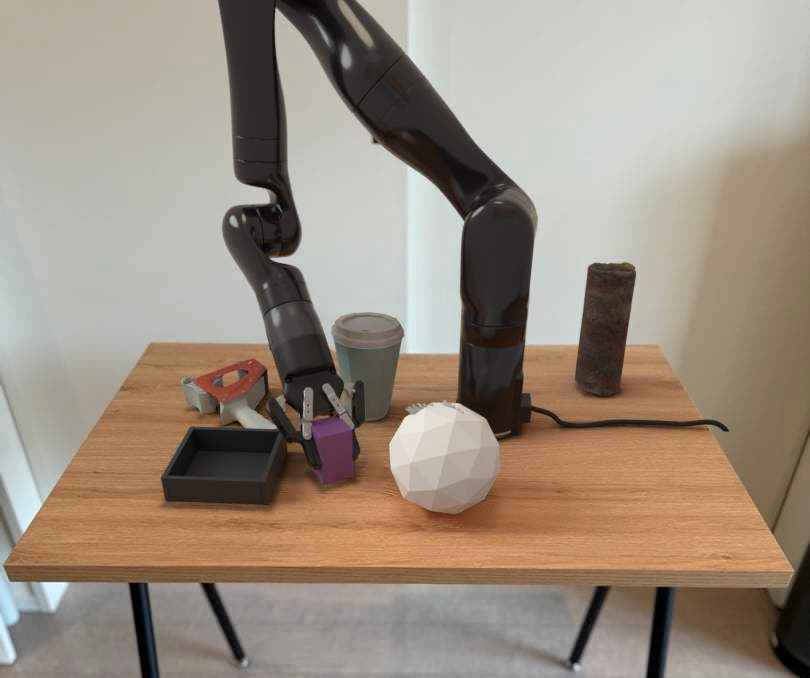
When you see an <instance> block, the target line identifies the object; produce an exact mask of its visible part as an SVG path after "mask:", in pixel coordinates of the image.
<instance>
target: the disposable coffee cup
mask: <svg viewBox="0 0 810 678" xmlns="http://www.w3.org/2000/svg"><path fill="white" fill-rule="evenodd" d="M330 331H331V332H330V334H331V337H332V340H333V343H334V350H335V356H336V360H337V366H338V372H339V373H338V374H339V377H340V378H341V379H342V380H343V382H351V383H356V381H358V380H361V381H362V382H363V383H364V398H365V421H364V422H373V421H374V422H375V421H379V420H381V419H383V418H385V417H386V415H387V414H388V412H389V410H390V408H391V403H392V397H393V392H394V386H395V379H396V376H397V375H396V374H397V369H398V363H399V358H400V352H401V348H402V347H401V346H402V341H403V339H404V337H405V330H404V328H403V326H402V324H401V322H400V321H399V320H398V318H397V317H394V316H391V315H389V314H386V313H381V312H374V311H373V312H372V311H364V312H362V311H361V312H351V313H348V314H344V315H341V316H340V317H338V318H337V319H336V320H335V321H334V324H333V325H332V326H331V330H330ZM342 395H343V400H344V407H345V409H346V412H347V414H348V416H349V417H350V418H352V408H351V399H349V398H348V397H347V394H346V392H345V391H342Z"/></svg>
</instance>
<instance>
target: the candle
mask: <svg viewBox="0 0 810 678" xmlns="http://www.w3.org/2000/svg"><path fill="white" fill-rule="evenodd" d="M636 278H637V270H636V266H635V265H634V264H632V263H630V262H628V261H623V262H620V263H617V262H616V263H615V262H610V263H606V262H605V263H604V262H603V263H602V262H592V263H591V264H589V265H588V266H587V272H586V280H585V281H586V282H585V288H584V289H585V290H584V297H583V306H582V315H581V322H580V323H581V324H580V331H579V339H578V348H577V355H576V363H575V371H574V374H575V375H574V382H575V383H576V384H577V385H578V387H581V388H582V389H583V390H584V391H585V392H588V393H592V394H593V395H597V396H599V397H609V396H612V395H614V394H615V393H617V392H618V391H620V387H621V383H622V382H621V381H622V376H623V369H624V362H625V353H626V346H627V339H628V332H629V326H630V319H631V311H632V305H633V300H634V299H633V298H634V291H635V285H636Z"/></svg>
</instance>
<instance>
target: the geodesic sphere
mask: <svg viewBox="0 0 810 678" xmlns="http://www.w3.org/2000/svg"><path fill="white" fill-rule="evenodd" d="M404 409H405V411H407V412H408V413H409V414H408V415H406V416H405V417H404V418H403V419H402V421H401V423H400V425H399V426H398V429H397V430H396V432H395V434H394V435H393V437H392V439H391V440H390V442H389V444H388V445H389V464H390V465H389V466H390V471H391V473H392V476H393V478H394V480H395V483H396V485H397V487H398V490H399V492H400V493H401V496H402V498H403V499H404V500H406V501H409V502H411V503H413V504H414V505H417V506H419V507H421V508H422V509H426V510H428V511H429V512H435V513H443V514H451V515H458V514H460V513H461V512H463V511H465V510H467V509H469V508H472V507H473V506H475V505H477V504H479V503H480V502H482V501H484V500H485V499H486V497H487V496H488V493H489V492H490V490H491V488H492V487H493V486H494V483H495V482H496V480H497V478H498V477H499V475H500V473H501V466H500V465H501V464H500V463H501V462H500V461H501V460H500V458H501V457H500V444H499V442H498V439H496V438H495V436H494V434H493V432H492V430H491V428H490V426H489V424H488V422H487V420H486V419H485V418H484V417H482V416H480V415H479V414H477V413H475V412H473V411H472V410H470V409H468V408H466V407H465V406H463V405H461V404H459V403H456V402H451V401H447V400H446V399H443V401H442V402H430V403H428V404H426V403H425V402H422V404H421V403H420V402H417V405H416V404H413V403H412V404H411V406H407V407H405V408H404Z"/></svg>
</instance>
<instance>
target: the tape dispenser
mask: <svg viewBox="0 0 810 678" xmlns="http://www.w3.org/2000/svg"><path fill="white" fill-rule="evenodd" d="M235 371H236V379H237V380H236V381H234V382H233V383H231V384H230V385H227V386H224V381H223V380H224V379H223V377H224V375H227V374H229V373H233V372H235ZM180 383H181V385H182V390H183V395H184V400H185V402H186V404H187V406H189V407H190V406H192V407H193V406H194V407H195V408H197V409H198V411H199V412H200V414H202V415H208V414H214V413H216V409H217V406H218V404H219V406H220V408H219V409H220V410H219V413H220V419H221V423H222V425H224V426H227V425H230V424H232V423H235V422H239V423H240V425H241V426H242V428H256V429H278V428H277V427H276V425H275V424H274V422H273V421H272V420H271V419H267V418H265V417H264V415H263V414H260V413H258V411H257V410H256V408H257V407H258V406H259V404H260V402H261V400H262V399H263V398H264V397H268V395H269V394H270V386H269V375H268V368H267V366H265V364H263V363H261V362H260V361H259V360H257V359H255V358H254V357H253V358H248V359H244V360H240V361H237V362H235V363H232V364H230V365H227V366H224V367H222V368H219V369H217V370H214V371H211V372H208V373H205V374H202V375H199V376H197V377H194V376H192V377H187V376H186V377H184V378H182V379H181V381H180Z"/></svg>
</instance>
